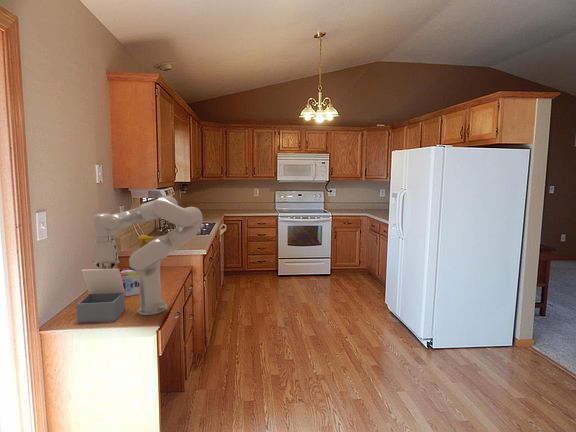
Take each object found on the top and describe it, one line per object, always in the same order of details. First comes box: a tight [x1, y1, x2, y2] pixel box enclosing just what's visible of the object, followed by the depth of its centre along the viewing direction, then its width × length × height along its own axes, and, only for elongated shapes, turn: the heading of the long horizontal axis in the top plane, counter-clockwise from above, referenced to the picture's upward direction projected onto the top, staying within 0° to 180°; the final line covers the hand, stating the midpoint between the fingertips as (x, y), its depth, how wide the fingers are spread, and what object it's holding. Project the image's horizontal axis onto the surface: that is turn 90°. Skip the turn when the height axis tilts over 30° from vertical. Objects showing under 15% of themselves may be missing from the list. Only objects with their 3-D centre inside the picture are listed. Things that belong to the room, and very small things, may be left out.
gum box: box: [119, 267, 140, 298], centre depth 205 cm, size 24×8×14 cm, turn 122°
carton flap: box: [81, 265, 125, 295], centre depth 179 cm, size 14×16×6 cm
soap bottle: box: [137, 234, 155, 249], centre depth 228 cm, size 13×10×29 cm
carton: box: [75, 293, 126, 324], centre depth 174 cm, size 14×16×9 cm
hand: (106, 276), depth 181 cm, fingers closed
